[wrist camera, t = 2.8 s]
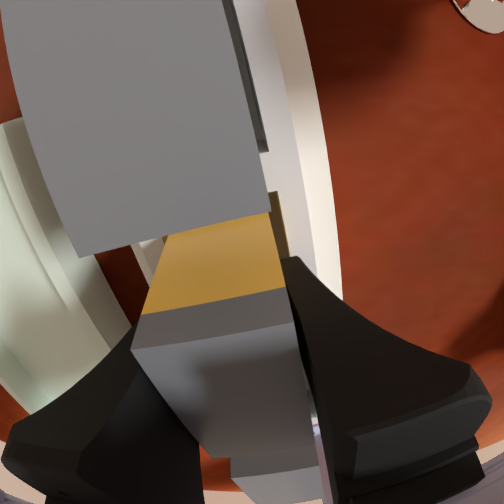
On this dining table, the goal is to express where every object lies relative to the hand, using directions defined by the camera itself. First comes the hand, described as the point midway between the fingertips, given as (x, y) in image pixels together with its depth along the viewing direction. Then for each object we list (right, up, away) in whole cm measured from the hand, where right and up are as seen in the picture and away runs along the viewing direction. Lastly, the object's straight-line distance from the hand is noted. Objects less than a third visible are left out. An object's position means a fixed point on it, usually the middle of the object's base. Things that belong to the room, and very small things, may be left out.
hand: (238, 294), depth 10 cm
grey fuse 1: (-2, +7, -1) cm, 7 cm away
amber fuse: (0, +1, +2) cm, 3 cm away
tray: (-11, -2, +4) cm, 12 cm away
